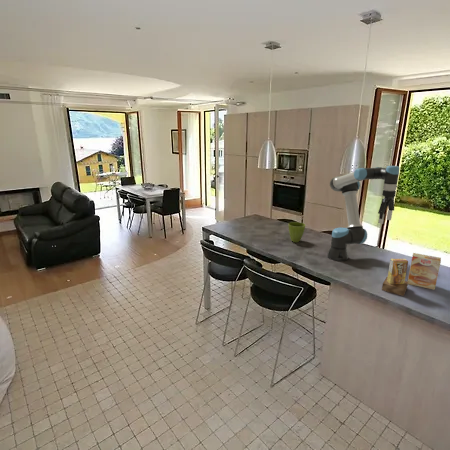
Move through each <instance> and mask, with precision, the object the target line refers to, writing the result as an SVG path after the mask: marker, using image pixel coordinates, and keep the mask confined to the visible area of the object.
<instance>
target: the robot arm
mask: <svg viewBox="0 0 450 450" xmlns="http://www.w3.org/2000/svg"><path fill="white" fill-rule="evenodd" d="M399 176H400V167H399V166H398V165H387V166H386V168H385V167H382V166H381V167H379V166H377V167H360V168H359V167H358V168H355V170H354V171H352V172H349V173H346V174H344V175H341V176H339V175H337V176H334V177H332V179H330V181H329V186H330V188H331V190H333V191H335V192H341V195H342V196H343V197H344V203H345V210H346V217H347V227H341V226H340V227H335V228H334V229H332V232H331V239H330V240H331V242H330V248H329V250H328V252H327V258H328V259H329V260H333V261H338V262H344V261H348V260H349V255H348V251H347V250H348V249H347V248H348V247H347V246H348V245H349V246H350V245H362V244H364V243H365V242H366V241H367V239H368V232H367V230H366V229H365V228H364V226H363V225H362V224H361V223H360V222H361V220H360V214H359V213H360V212H359V207H358V199H357V195H358V192H359V190H360V187H361V181H365V180H384V181H383V188H382V189H383V190H382V194H381V195H382V196H383V197H384V198H381V203H380V206H379V209H378V212H377V214H379V217H378V223H377V224H379V225H380V224H381V225H383V224H384V219H385V212H386V210H387V208H388V210H387V215H386V220H387V221H392V215H393V212H394V211H395V197H396V193H397V192H396V191H397V189H398V181H399Z"/></svg>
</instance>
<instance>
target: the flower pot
mask: <svg viewBox="0 0 450 450" xmlns="http://www.w3.org/2000/svg"><path fill="white" fill-rule="evenodd" d="M287 224H288V225H287V226H288V232H289V238H290V240H291V242H292V241H293V242H292V243H300V242H301V240H302V238H303V235H304V233H305V228H306V223H303V222H298V221H291V222H288V223H287ZM299 241H300V242H299Z"/></svg>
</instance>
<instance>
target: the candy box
mask: <svg viewBox="0 0 450 450" xmlns="http://www.w3.org/2000/svg"><path fill="white" fill-rule="evenodd" d="M408 265H409V261H408V260H407V258H390V260H389V266H388V273H387V277H388V278H387V282H389V283H390V284H404V282H405V281H406V276H407V271H408Z"/></svg>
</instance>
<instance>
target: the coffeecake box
mask: <svg viewBox="0 0 450 450" xmlns="http://www.w3.org/2000/svg"><path fill="white" fill-rule="evenodd" d="M441 260H442V257H437V256H432V255H428V254H421V253H416V252H413V253H412V257H411V263H410V267H409V271H408V278H407V282H408V285H411V286H415V287H421V288H426V289H429V290H433V291H435V289H436V286H437V280H438V277H439V273H440V266H441V262H442V261H441Z"/></svg>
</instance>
